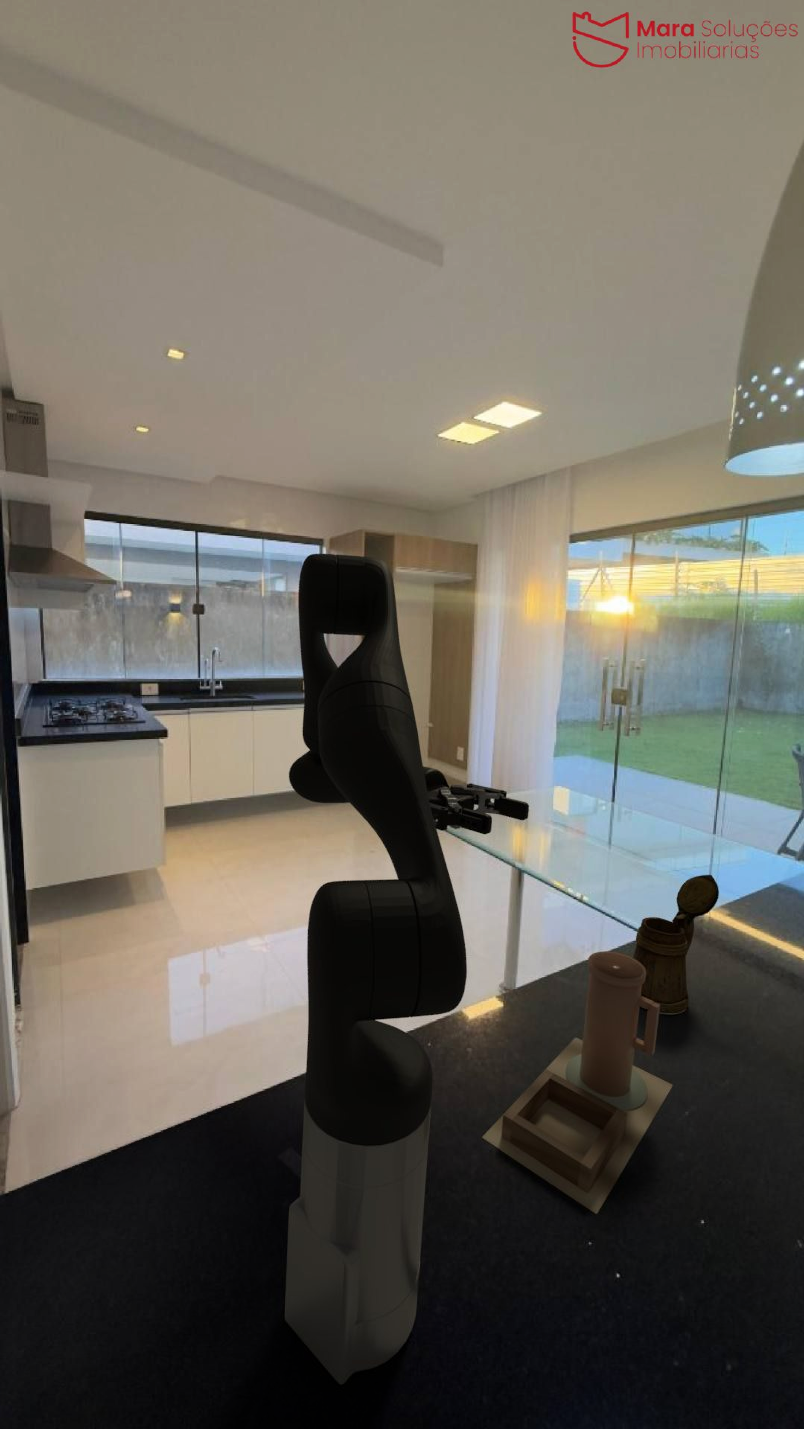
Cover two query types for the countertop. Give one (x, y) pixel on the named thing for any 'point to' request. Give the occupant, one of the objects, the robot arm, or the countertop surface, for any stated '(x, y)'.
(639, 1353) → the countertop surface
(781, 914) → the countertop surface
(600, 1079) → the tall brown tankard
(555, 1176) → the board
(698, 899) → the wooden mug
